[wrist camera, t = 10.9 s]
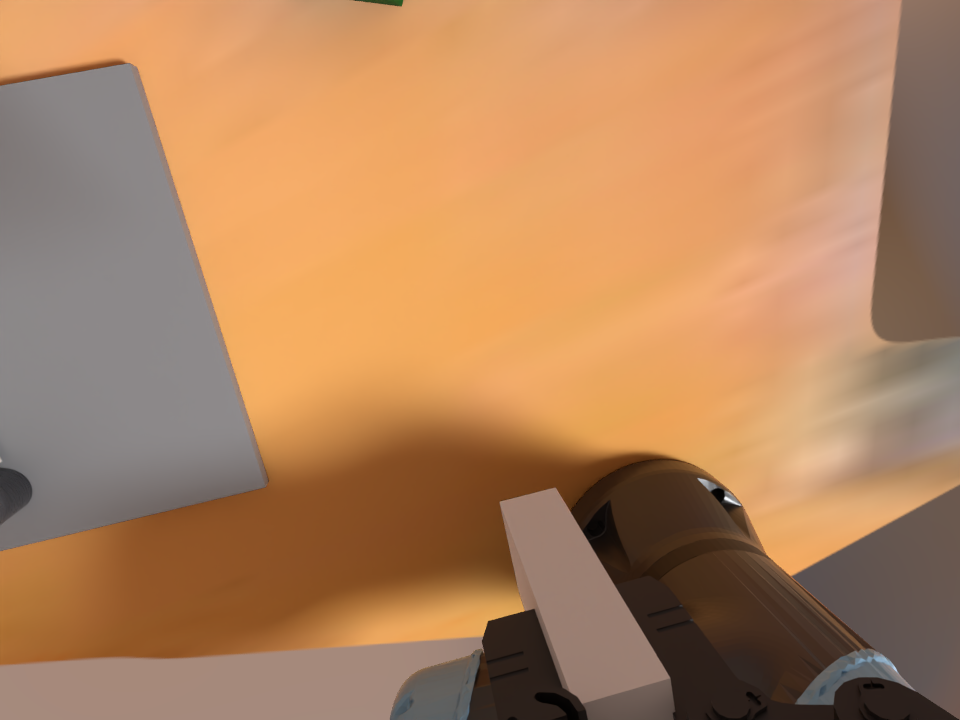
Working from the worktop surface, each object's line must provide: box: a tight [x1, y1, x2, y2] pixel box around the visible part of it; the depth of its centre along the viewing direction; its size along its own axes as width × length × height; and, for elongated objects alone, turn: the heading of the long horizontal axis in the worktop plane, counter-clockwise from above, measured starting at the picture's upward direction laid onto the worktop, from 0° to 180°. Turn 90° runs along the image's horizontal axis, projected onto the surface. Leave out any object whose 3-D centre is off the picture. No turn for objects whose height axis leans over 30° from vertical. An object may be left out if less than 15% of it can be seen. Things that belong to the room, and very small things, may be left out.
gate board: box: [0, 63, 269, 551], centre depth 36 cm, size 27×21×1 cm
